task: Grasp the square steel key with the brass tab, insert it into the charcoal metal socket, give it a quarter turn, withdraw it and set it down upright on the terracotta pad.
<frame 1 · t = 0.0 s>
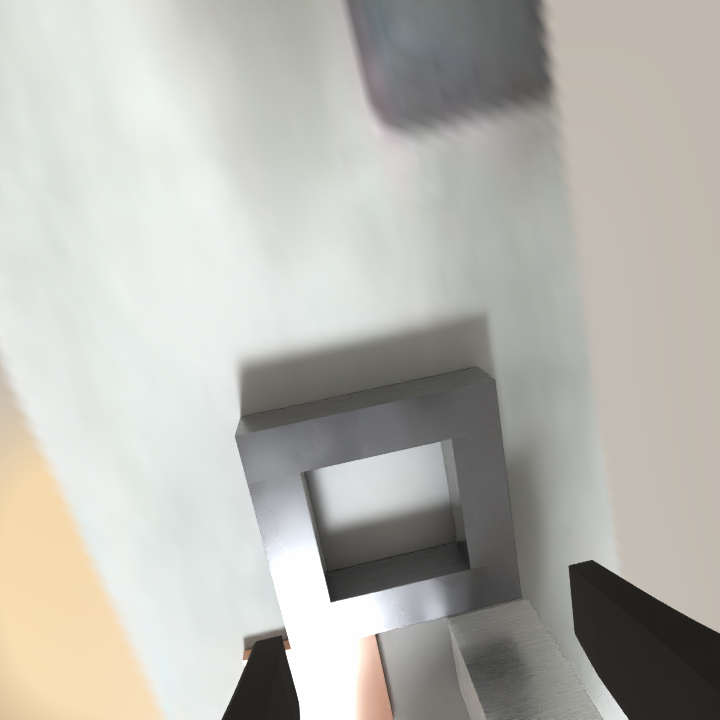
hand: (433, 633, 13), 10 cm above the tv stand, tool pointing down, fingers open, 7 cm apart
steel key: (492, 642, 26), on the tv stand
terracotta pad: (321, 686, 25), on the tv stand
charcoal socket: (381, 498, 23), on the tv stand
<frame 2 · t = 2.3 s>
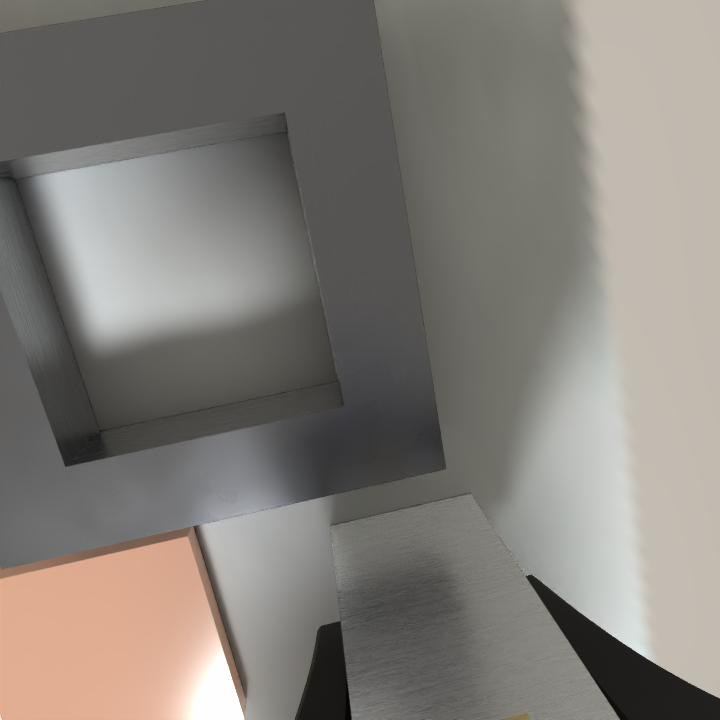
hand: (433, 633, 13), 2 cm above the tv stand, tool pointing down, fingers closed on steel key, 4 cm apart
steel key: (412, 570, 15), on the tv stand, touching gripper
terracotta pad: (112, 642, 14), on the tv stand
charcoal socket: (188, 288, 12), on the tv stand
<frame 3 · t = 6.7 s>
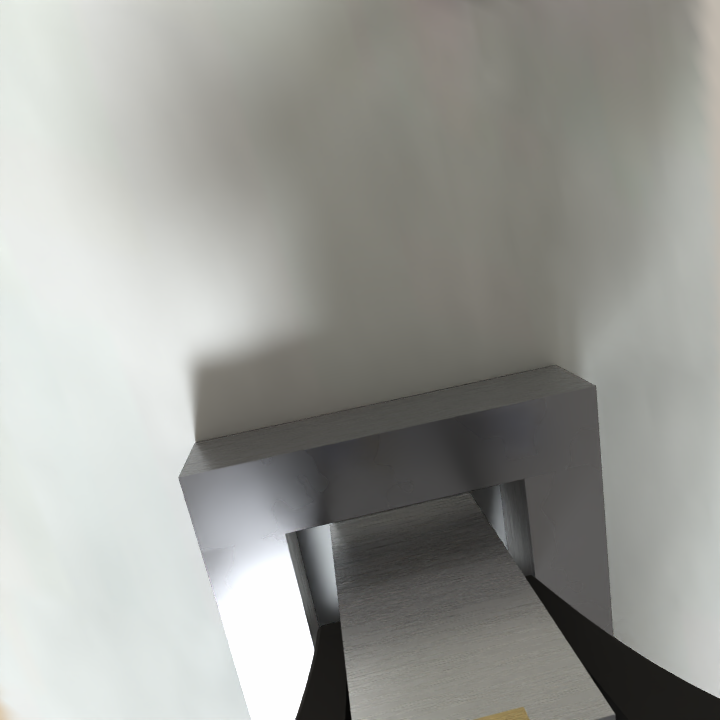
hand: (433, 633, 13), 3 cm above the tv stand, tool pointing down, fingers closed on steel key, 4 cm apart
steel key: (411, 568, 15), resting in charcoal socket, touching gripper
charcoal socket: (408, 560, 15), on the tv stand
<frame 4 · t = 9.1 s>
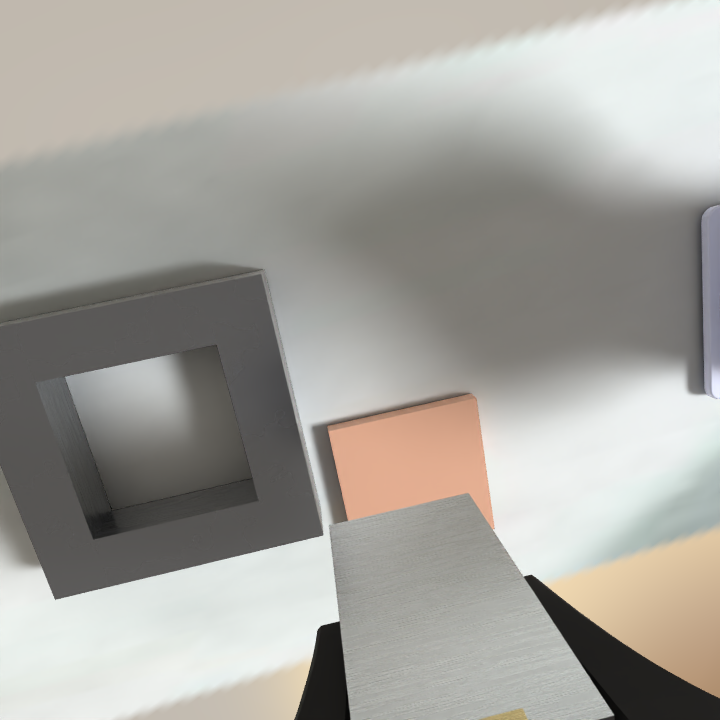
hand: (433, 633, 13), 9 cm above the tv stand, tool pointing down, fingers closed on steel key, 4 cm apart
steel key: (410, 569, 15), point 7 cm above the tv stand, touching gripper
terracotta pad: (412, 475, 22), on the tv stand
charcoal socket: (166, 424, 20), on the tv stand
when the fingers open (4 cm above the tv stand, at t = 11.3 s): steel key drops 1 cm, resting on terracotta pad.
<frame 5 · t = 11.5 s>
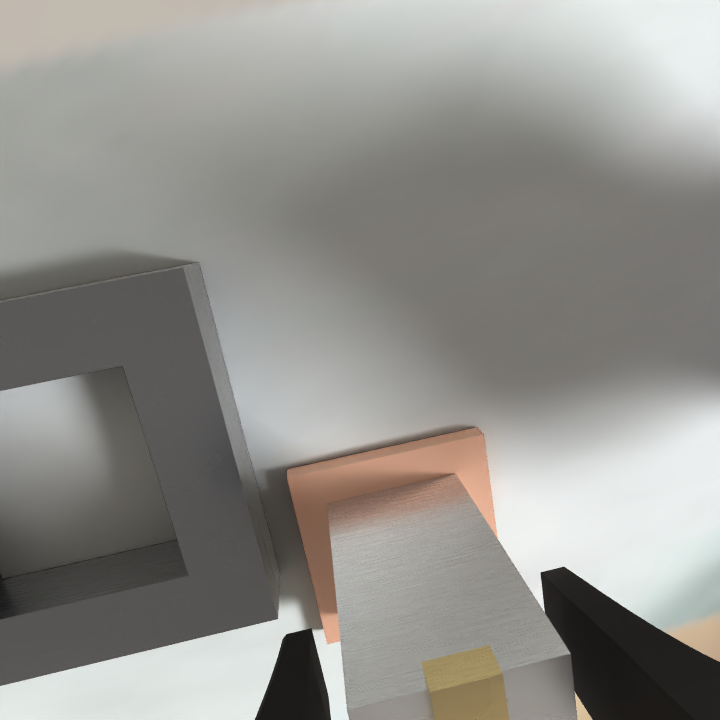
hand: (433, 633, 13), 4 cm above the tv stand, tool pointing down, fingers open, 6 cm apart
steel key: (402, 544, 16), point 1 cm above the tv stand, touching terracotta pad
terracotta pad: (399, 532, 17), on the tv stand
charcoal socket: (70, 468, 15), on the tv stand
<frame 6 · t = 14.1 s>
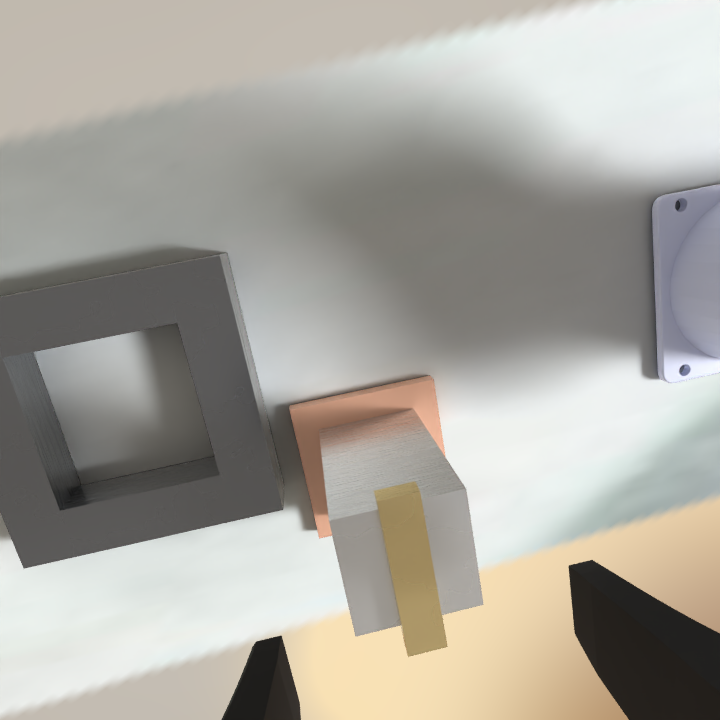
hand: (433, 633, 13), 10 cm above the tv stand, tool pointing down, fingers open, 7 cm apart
steel key: (374, 462, 22), point 1 cm above the tv stand, touching terracotta pad
terracotta pad: (372, 455, 23), on the tv stand
charcoal socket: (133, 402, 21), on the tv stand
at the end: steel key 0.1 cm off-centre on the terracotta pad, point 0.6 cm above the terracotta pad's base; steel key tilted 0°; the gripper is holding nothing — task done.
